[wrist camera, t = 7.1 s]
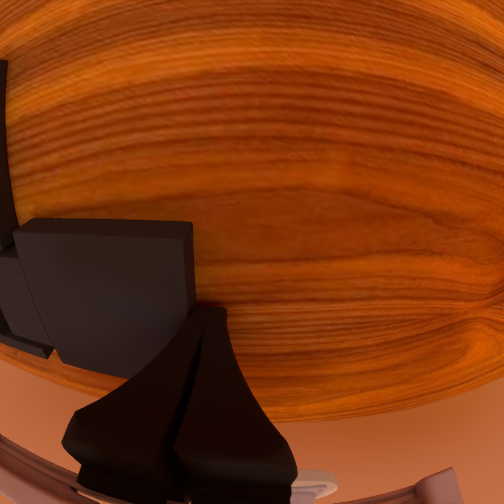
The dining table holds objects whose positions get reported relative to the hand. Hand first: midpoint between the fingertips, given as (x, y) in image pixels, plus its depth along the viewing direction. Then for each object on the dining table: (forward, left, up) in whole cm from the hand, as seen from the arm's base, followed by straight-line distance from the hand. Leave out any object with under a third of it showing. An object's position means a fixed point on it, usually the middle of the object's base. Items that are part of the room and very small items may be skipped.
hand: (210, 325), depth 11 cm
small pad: (0, +6, -1) cm, 7 cm away
